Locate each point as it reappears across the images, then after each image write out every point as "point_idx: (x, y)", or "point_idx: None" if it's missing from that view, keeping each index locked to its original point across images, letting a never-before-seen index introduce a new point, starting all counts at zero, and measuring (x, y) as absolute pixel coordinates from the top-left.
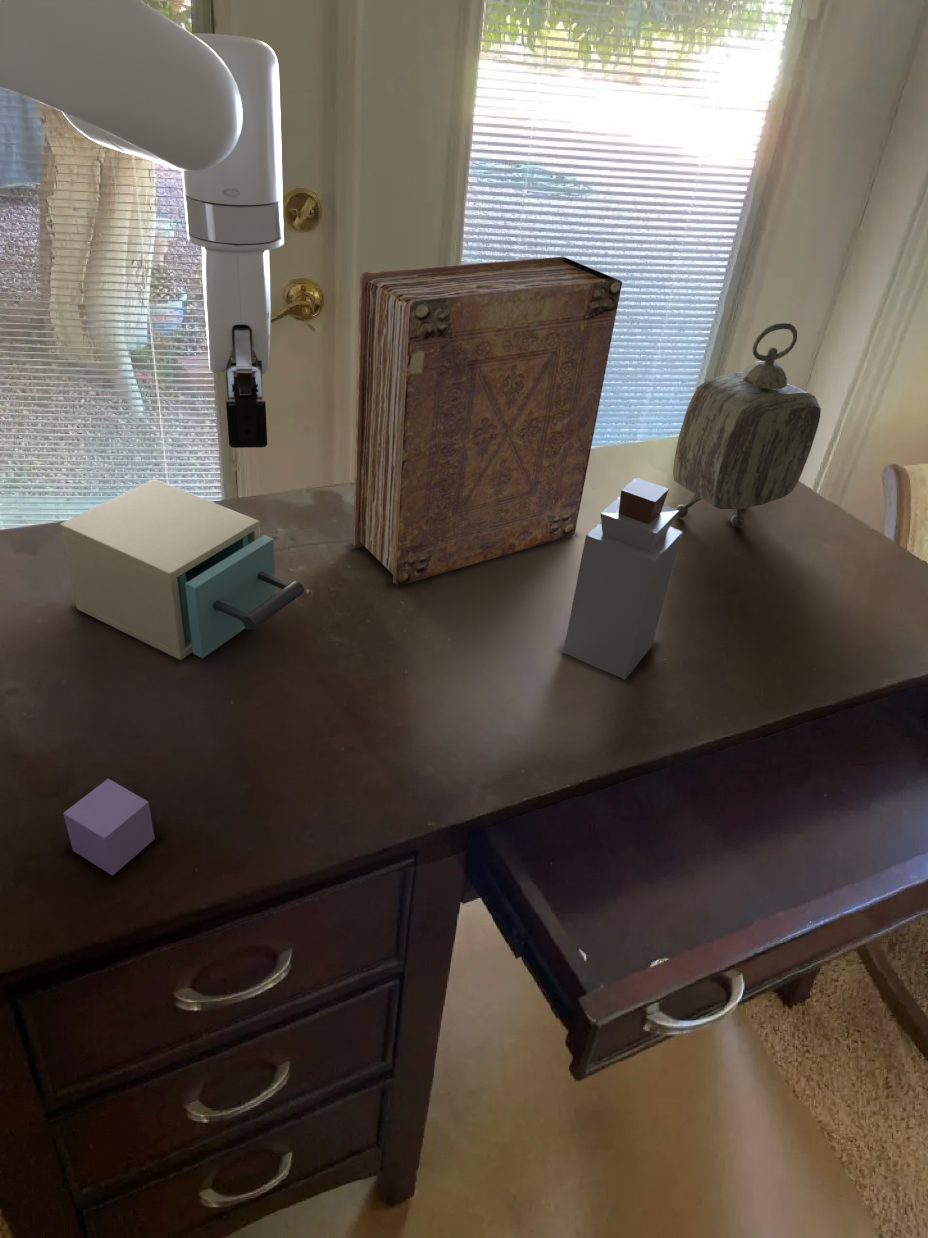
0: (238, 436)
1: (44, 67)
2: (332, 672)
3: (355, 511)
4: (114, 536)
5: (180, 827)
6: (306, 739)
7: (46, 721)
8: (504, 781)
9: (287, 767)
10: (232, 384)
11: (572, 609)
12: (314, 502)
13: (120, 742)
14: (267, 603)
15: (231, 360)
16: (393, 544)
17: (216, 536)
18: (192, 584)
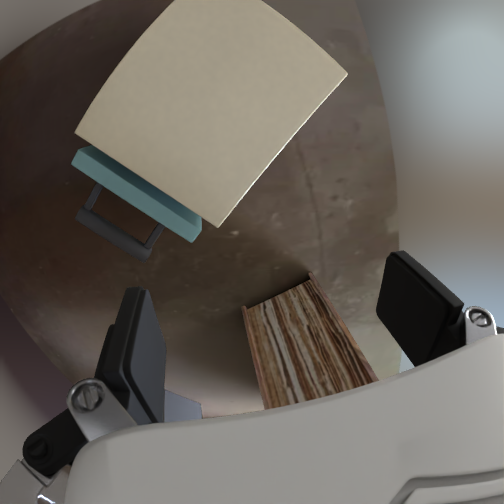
0: (109, 328)
1: None
2: (112, 258)
3: (322, 295)
4: (167, 35)
5: None
6: (42, 243)
7: (49, 47)
8: (48, 346)
9: (19, 233)
10: (34, 455)
11: (163, 417)
12: (390, 233)
13: (26, 110)
14: (101, 232)
15: (450, 321)
16: (260, 326)
17: (169, 174)
18: (76, 159)
